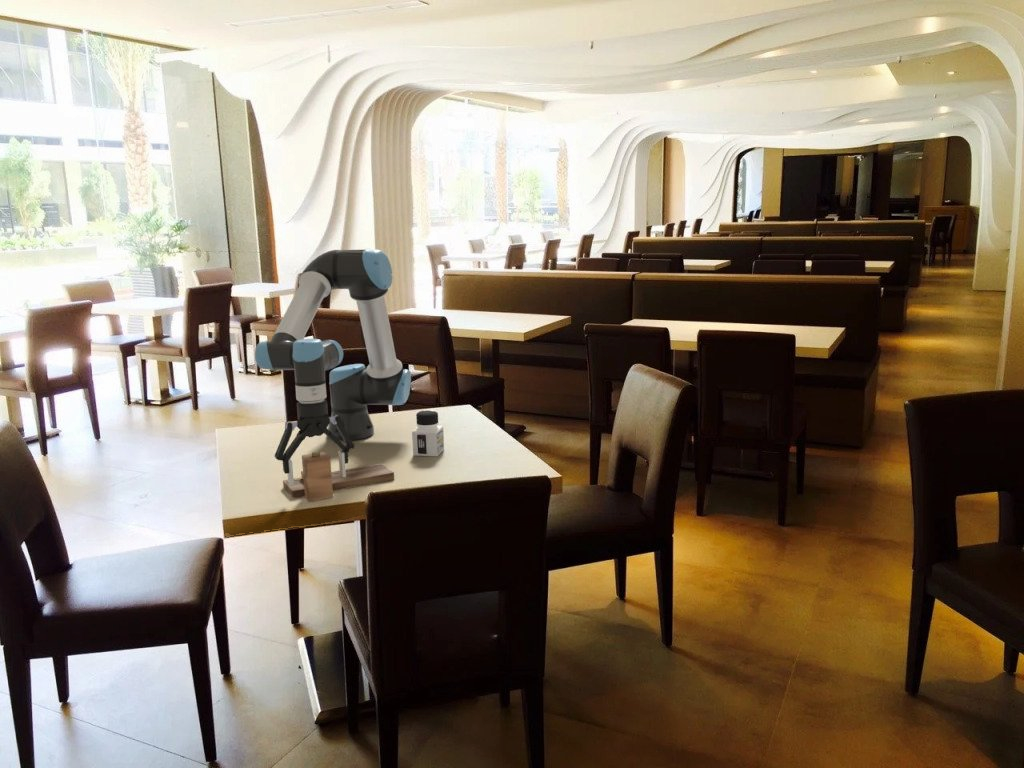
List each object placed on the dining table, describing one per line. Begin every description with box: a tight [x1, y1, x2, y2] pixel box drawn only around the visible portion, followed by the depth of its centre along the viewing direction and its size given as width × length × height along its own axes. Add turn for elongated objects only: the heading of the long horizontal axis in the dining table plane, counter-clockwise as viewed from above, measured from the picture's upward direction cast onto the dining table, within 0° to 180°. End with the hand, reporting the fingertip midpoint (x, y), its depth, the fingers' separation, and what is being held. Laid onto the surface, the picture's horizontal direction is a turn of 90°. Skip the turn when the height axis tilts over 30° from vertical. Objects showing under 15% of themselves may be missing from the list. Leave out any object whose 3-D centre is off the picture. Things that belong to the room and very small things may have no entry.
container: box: [411, 409, 445, 457], centre depth 249 cm, size 8×8×13 cm
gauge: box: [300, 451, 334, 502], centre depth 216 cm, size 14×6×12 cm, turn 29°
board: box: [282, 462, 395, 499], centre depth 224 cm, size 10×28×2 cm, turn 119°
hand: (317, 480), depth 212 cm, fingers open, 13 cm apart
